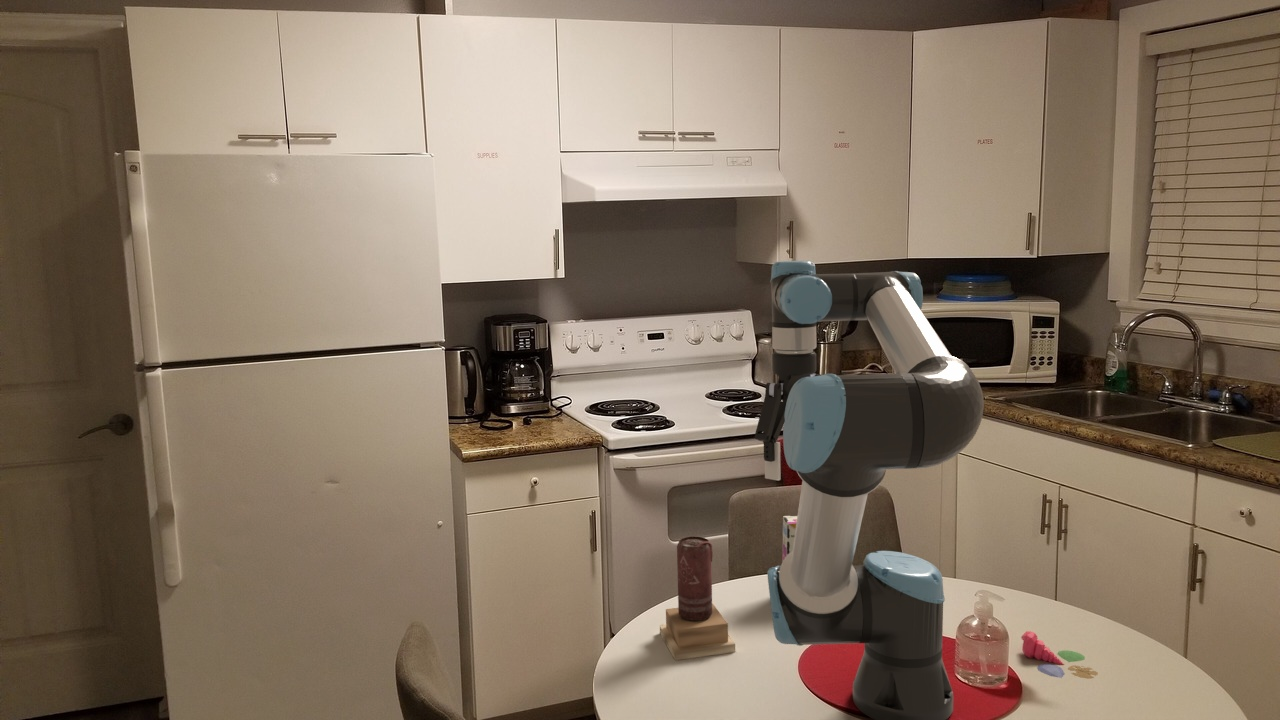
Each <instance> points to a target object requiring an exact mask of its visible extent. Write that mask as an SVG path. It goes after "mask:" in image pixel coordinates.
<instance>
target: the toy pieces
mask: <svg viewBox="0 0 1280 720" xmlns="http://www.w3.org/2000/svg"><path fill="white" fill-rule="evenodd" d="M1020 638H1021V640H1022V641H1023V643H1022V653H1023V654H1024V656H1026V657H1027V658H1030V659H1031V658H1035V659H1036V660H1037V661H1040V660H1042V661H1043V662H1048V663H1043V664H1041V665H1040V664H1039V665H1038V666H1037V667H1036V669H1037V671H1038V672H1040V673H1042V674H1043V675H1047V676H1049V677H1053V678H1059V679H1063V677H1064V676H1065V671H1064V670H1063V668H1062V667H1060V666H1064V665H1065V663H1063V661H1062V660H1065V661H1066V662H1067V663H1073V662H1081V661H1084V660H1085V658H1086V657H1085V656H1084V655H1083V654H1082V653H1080V652H1078V651H1073V650H1065V649H1062V650H1059V651H1058V652H1057V653H1056V654H1055V653H1054V652H1053V651H1051V650H1050V648H1049V646H1046V644H1045V643H1044V640H1041V639H1038V635H1037V634H1036V632H1033V631H1031V630H1029V631H1028V630H1027V631H1025V632H1024V633H1023V634H1022V635H1021V637H1020ZM1058 657H1060V658H1061V659H1062V660H1061V659H1060V658H1058ZM1049 663H1050V664H1049ZM1051 663H1052V664H1051ZM1055 664H1056V665H1055ZM1058 665H1060V666H1058ZM1067 670H1068V671H1070V672H1071V673H1070V674H1071V675H1073V676H1074V677H1078V678H1082V679H1087V680H1089V679H1094V678H1095V677H1097V676H1098V674H1099V673H1098V671H1096V670H1093V668H1092V667H1090V666H1089V667H1088V666H1087V667H1085V666H1084V665H1081V666H1080V665H1071V666H1069V667H1067ZM1072 671H1074V672H1072Z"/></svg>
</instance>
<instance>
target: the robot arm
mask: <svg viewBox="0 0 1280 720" xmlns="http://www.w3.org/2000/svg"><path fill="white" fill-rule="evenodd" d="M816 272H817V271H816V265H815V263H814V262H813V261H811V260H783V261H782V260H780V261H776V262H774V263H773V264H772V265H771V273H770V274H771V276H770V280H769V281H770V282H769V283H770V285H771V289H770V290H771V315H772V316H771V318H772V319H771V327H772V330H771V331H772V335H771V338H772V339H771V340H772V342H771V343H772V345H771V346H772V347H771V348H772V349H773V350H774V352H773V353H772V354H771V357H772V358H771V359H772V361H771V362H772V365H771V366H772V370H771V371H772V373H773V374H775V375H777V382H776V383H775V382H767V383H766V384H765V395H764V400H763V402H762V407H761V410H760V415H759V418H758V422H757V426H756V429H755V433H754V439H755V440H758V441H759V442H762V443H763V461H764V479H766V480H772V481H781V480H782V478H781V477H782V475H781V472H782V471H781V441H778V439H779V436H780V434H781V432H782V433H783V434H782V440H783V441H782V443H783V445H782V446H783V453H784V458H785V461H786V464H787V465H788V468H789V469H791V470H793V471H795V472H796V473H797V474H798V476H799V478H800V479H801V480H802V481H801V488H800V495H799V496H800V497H799V502H798V503H799V504H798V509H797V515H796V516H797V523H796V530H795V537H794V544H793V551H792V552H791V553H789V554H788V555H787V556H786V557H785V559H784V560H783V559H782V563H781V565H776V566H773V567H769V569H768V570H767V572H766V573H767V582H768V584H767V585H768V590H769V600H770V608H771V616H772V625H773V633H774V637H775V640H777V641H778V643H780V644H783V645H796V646H799V647H801V646H805V645H806V646H807V645H808V646H809V645H810V646H811V645H814V646H815V645H838V644H840V645H843V644H845V645H846V644H848V645H849V644H864V648H863V649H864V650H863V655H862V657H861V661H860V663H859V664H858V667H857V671H856V674H855V676H854V679H853V682H852V700H853V703H854V705H855V707H856V708H857V709H858V710H859V711H860V712H861V713H862V714H864V715H865V716H867V717H869V718H870V719H873V720H948V719H949V717H951V715H952V714H953V712H954V692H953V689H952V686H951V682H950V679H949V677H948V673H947V670H946V667H945V664H944V661H943V634H944V631H943V625H944V622H943V621H944V603H945V601H946V599H945V594H944V581H943V576H942V574H941V571H940V570H939V569H938V567H936V566H935V564H933V563H931V562H929V561H928V560H925V559H923V558H921V557H919V556H916V555H913V554H909V553H905V552H901V551H893V550H877V551H874V552H869V553H868V554H866V555H865V558H864V559H863V564H862V565H854V564H853V562H854V556H855V554H856V548H857V543H858V539H859V534H860V530H861V527H862V526H861V525H862V521H863V517H864V512H865V509H866V503H867V499H868V494H870V493H871V492H873V491H874V490H876V489H877V488H878V487H879V485H880V484H881V483H882V481H883V480H884V478H885V475H886V471H887V470H904V469H905V470H906V469H910V470H911V469H925V468H932V467H936V466H939V465H941V464H943V463H946V462H949V461H950V460H951V459H953V458H955V457H956V456H957V455H958V454H960V453H961V452H962V451H963V450H965V448H967V446H968V445H969V444H970V442H972V441H973V439H974V437H975V436H976V434H977V433H978V430H979V427H980V425H981V422H982V419H983V414H984V408H985V407H984V406H985V405H984V402H985V401H984V393H983V390H982V387H981V385H980V382H979V380H978V379H977V377H976V375H975V373H974V372H973V371H972V369H971V368H970V367H969V365H968V364H967V363H966V362H964V361H963V360H962V359H959V358H957V357H955V356H952V354H951V353H950V352H949V350H948V349H947V347H946V345H945V343H943V341H942V339H941V338H940V336H939V335H938V333H937V332H936V331H935V329H934V328H933V326H932V325H931V324H930V321H929V320H928V319H927V317H926V316H925V314H924V313H923V311H922V309H923V301H924V295H923V294H924V293H923V292H924V291H923V286H922V284H921V283H922V282H921V279H920V277H919V275H917V274H916V273H915V272H913V271H912V272H908V271H898V270H894V271H893V270H892V271H885V272H884V271H883V272H881V271H880V272H859V273H857V272H856V273H822V274H819V273H816ZM841 321H846V322H847V321H868V323H869V324H870V327H871V329H872V331H873V332H874V334H875V337H876V339H877V341H878V342H879V344H880V346H881V348H882V350H883V352H884V354H885V356H886V358H887V360H888V362H889V364H890V366H891V367H892V370H893V371H894V373H877V374H876V373H871V374H868V373H867V374H846V375H845V374H842V375H841V374H840V375H837V374H834V373H825V374H820V373H816V372H817V353H816V351H814V350H815V349H816V348H817V323H818V322H841Z"/></svg>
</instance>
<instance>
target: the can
mask: <svg viewBox="0 0 1280 720" xmlns="http://www.w3.org/2000/svg"><path fill="white" fill-rule="evenodd" d="M713 555H714V550H713V545H712V542H711V541H709V539H708V538H705V537H701V536H687V537H683V538H681V539H679V540H678V543H677V545H676V556H677V558H676V564H677V565H676V566H677V568H676V569H677V570H676V571H677V602H678V605H677V608H678V611H679V615H680V616H681V618H682V619H684V620H687V621H692V622H699V621H704V620H707V619H708V618H710V616H711V614H712V603H713V586H712V585H713V584H712V583H713V582H712V581H713V577H712V576H713V575H712V573H713V571H712V562H713V557H714V556H713Z"/></svg>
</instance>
